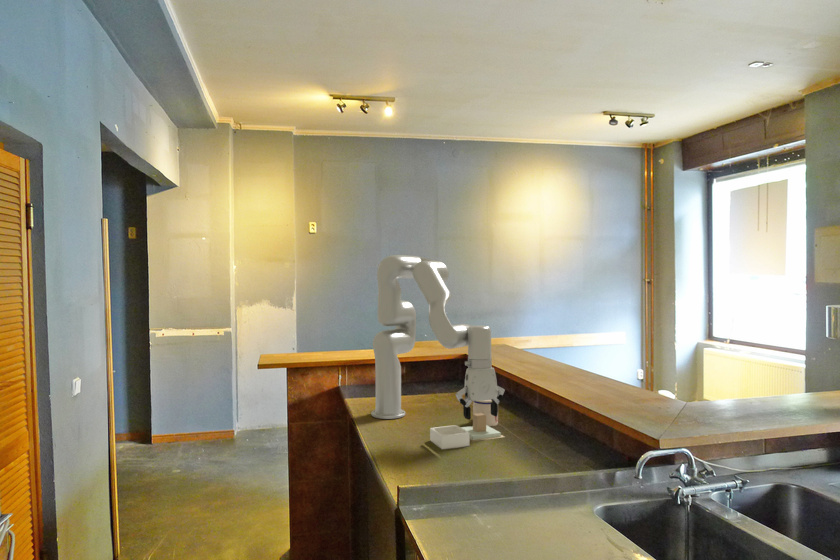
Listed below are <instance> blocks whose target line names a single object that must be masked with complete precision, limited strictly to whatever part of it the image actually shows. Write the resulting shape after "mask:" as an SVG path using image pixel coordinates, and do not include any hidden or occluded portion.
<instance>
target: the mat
mask: <svg viewBox="0 0 840 560" xmlns="http://www.w3.org/2000/svg"><path fill="white" fill-rule="evenodd" d="M500 438H505V436H504V435H503V434H501V437H493V438H485V439H478V440H472V439H470V438H469V442H479V441H487V440H494V439H500Z"/></svg>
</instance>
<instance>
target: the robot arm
mask: <svg viewBox="0 0 840 560" xmlns="http://www.w3.org/2000/svg"><path fill="white" fill-rule="evenodd" d="M448 278H449V269H448V267H447V265H446V264H445V263H444V262H442V261H440V260H435V259H430V258H426V257H423V256H420V255H419V256H418V255H405V254H404V255H403V254H394V255H393V254H392V255H388V256H386V257H384V258H383V259H382V260H381V261H380V262H379V264H378V267H377V272H376V280H377V287H378V289H377V320H378V321H377V322H378V323H379V324H380V325H382V326H383V327H395V328H393V329H386V330H381V331H379V332H378V333H376V334H375V335H374V337H373V340H372V347H373V348H372V349H373V353H374V360H375V361H374V363H375V365H374V366H375V368H374V369H375V370H374V371H375V409H373V410H372V411H371V413H370V414H371V416H372V417H373V418H376V419H380V420H382V419H383V420H394V419H400V418H403V417H404V416H406V411H405V409H402V365H401V362H400V359H399V358H398V355H402V354H407V353H409V352H411V351H412V350H413V349H414V347H415V344H416V329H417V327H416V324H417V312H416V309H415V306H414V305H413V304H412V303H411V302H410V301H408V300H402V289H401V285H400V283H399V281H398V279H414V281H415V283H416V284H417V286H418V288H419V289H420V291H421V294H422V296H423V297H424V299H425V300H426V303H427V304H428V308H429V309H428V320H429V326H430V328H431V331H432V332H433V335H434V336H435V338H436V340H437V341H438V343H440V344H441V346H442V347H444V348H445V349H448V350H449V349H450V350H451V349H456V348H462V347H463V348H464V347H467V360H465V361H464V365H465V366H467V367H468V368H466V371H465V376H464V377H465V378H464V387H463V388H461V389H460V390H459V391H457V392H456V393H455V396H456V399H457V401H458V402H459V403H460V404H461V405H462V408H463V410H462V411H463V412H462V413H463V414H462V415H463V417H464V419H465V420H469V421H470V420H472V418H471V417H472V416H471V414H472V413H471V411H472V409H471V407H470V405H471V404H472V403H473V401H483V400H491V401H492V402H491V415H493V416H497V413H498V414H499V404H500V401H501V400H502V399H503V395H504V393H505V388H503V387H501V386H499V385H498V381H497V374H496V371H495V368H494V367H492V361H493V360H492V330H491V328H490V326H487V325H473V324H468V323H459V324H452V323H451V322H450V320H449V318H448V315H447V313H446V309H445V308H446V304H447V303H448V302H449V301H450V300H451V298H452V295H451V291H450V290H449V288H448V287H447V285H446V282H447V281H448ZM463 395H464V398H463Z"/></svg>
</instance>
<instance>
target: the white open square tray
mask: <svg viewBox="0 0 840 560" xmlns="http://www.w3.org/2000/svg"><path fill="white" fill-rule="evenodd" d="M429 439H430V440H429V441H430V442H431V443H432V444H434V446H436V447H438V448H439V449H440V450H448V449H451V450H452V449H457V448H458V449H459V448H465V447H470V440H469V432H467V431H466V430H464V429H462V428H461V427H460V426H459V425H457V424H454V425H453V424H452V425H445V426H444V425H443V426H438V427H430V428H429Z"/></svg>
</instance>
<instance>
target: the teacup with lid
mask: <svg viewBox="0 0 840 560" xmlns="http://www.w3.org/2000/svg"><path fill="white" fill-rule="evenodd" d="M491 402H492V401H491V400H483V401H472V415H473V414H477V413H482V414H484V415H486V425H487V426H489V427H494V426H497V425H499V412H498V413H497V416H493V415H491Z"/></svg>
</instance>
